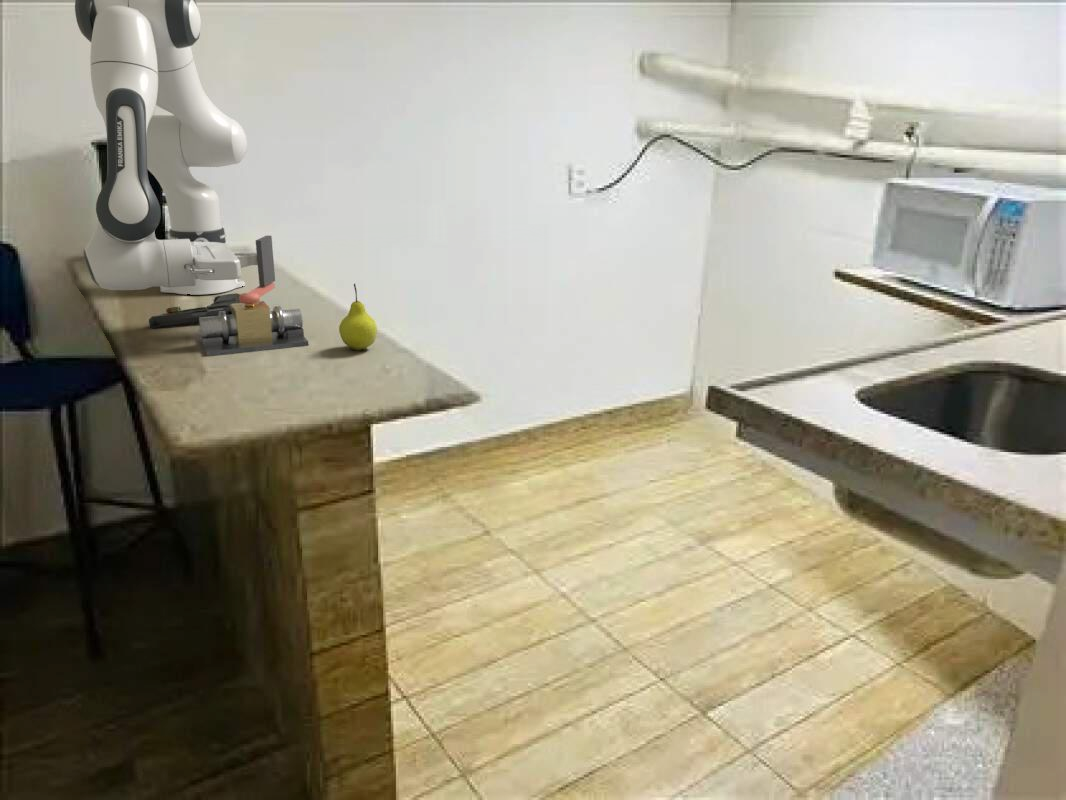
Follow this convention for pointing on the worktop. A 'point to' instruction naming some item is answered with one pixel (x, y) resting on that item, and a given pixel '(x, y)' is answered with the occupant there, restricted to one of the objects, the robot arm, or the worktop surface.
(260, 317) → the valve
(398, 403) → the worktop surface
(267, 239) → the lever
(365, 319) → the fruit
